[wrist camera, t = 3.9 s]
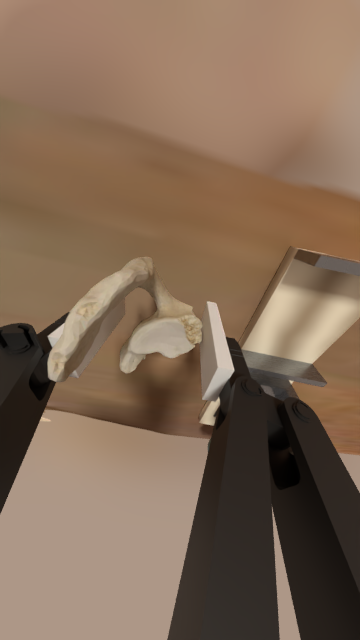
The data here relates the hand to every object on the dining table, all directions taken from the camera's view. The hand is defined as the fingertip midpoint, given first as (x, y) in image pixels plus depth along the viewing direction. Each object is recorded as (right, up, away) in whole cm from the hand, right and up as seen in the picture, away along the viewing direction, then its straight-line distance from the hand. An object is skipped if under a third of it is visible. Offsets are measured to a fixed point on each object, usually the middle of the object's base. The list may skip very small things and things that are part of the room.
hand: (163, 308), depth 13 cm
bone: (0, 0, +1) cm, 1 cm away
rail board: (+14, -10, +12) cm, 21 cm away
